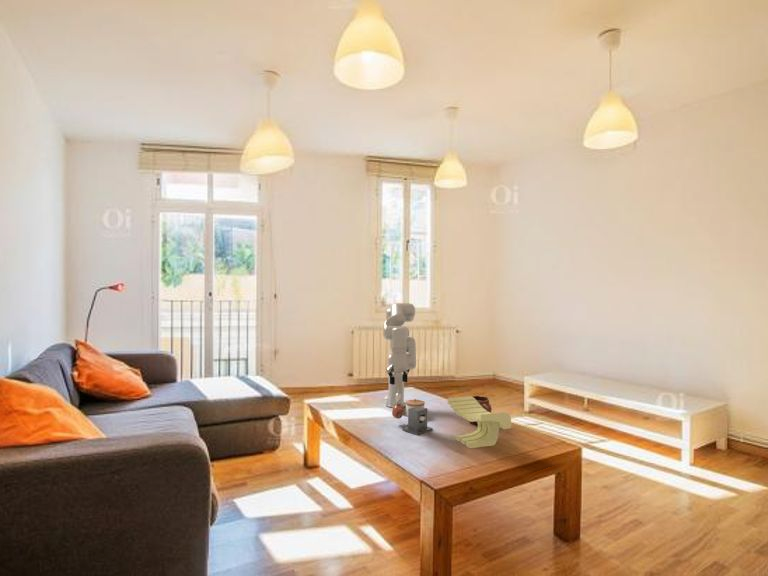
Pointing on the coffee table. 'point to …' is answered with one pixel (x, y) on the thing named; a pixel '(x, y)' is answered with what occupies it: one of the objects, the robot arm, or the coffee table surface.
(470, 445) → the slatted curved stool
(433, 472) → the coffee table surface
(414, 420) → the grey square peg socket
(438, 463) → the coffee table surface
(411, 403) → the lidded jar
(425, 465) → the coffee table surface
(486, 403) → the decorative planter
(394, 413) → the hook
